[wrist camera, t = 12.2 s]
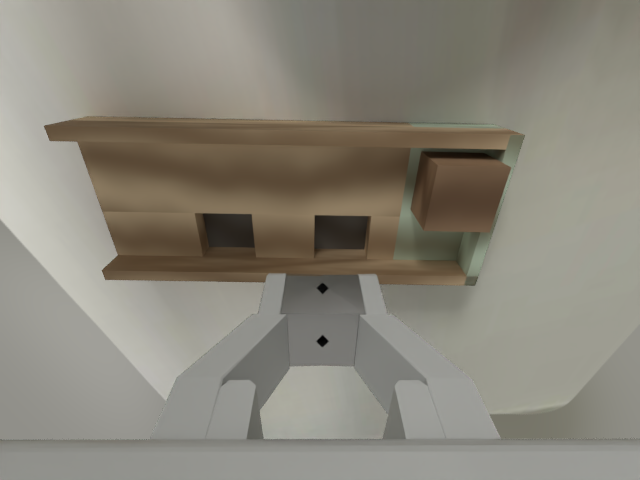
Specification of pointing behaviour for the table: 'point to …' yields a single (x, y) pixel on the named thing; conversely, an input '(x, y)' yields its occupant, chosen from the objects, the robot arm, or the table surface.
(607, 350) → the table surface
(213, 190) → the trap lane
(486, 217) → the walnut block
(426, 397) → the robot arm
